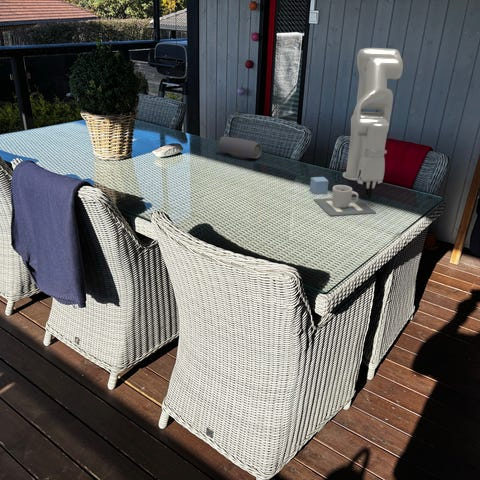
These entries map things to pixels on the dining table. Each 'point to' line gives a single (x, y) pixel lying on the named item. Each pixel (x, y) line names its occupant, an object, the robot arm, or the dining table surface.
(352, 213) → the letter mat
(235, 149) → the bluetooth speaker
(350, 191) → the cup
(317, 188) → the cube
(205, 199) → the dining table surface
